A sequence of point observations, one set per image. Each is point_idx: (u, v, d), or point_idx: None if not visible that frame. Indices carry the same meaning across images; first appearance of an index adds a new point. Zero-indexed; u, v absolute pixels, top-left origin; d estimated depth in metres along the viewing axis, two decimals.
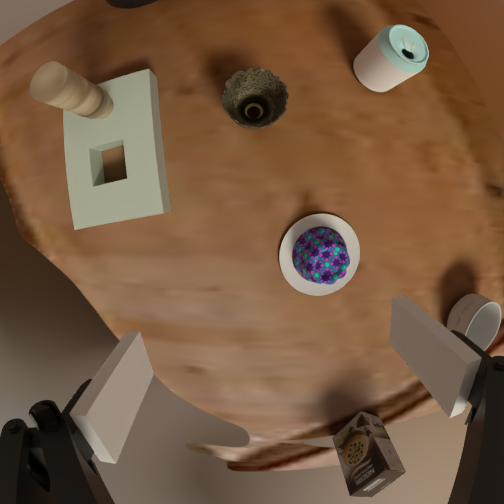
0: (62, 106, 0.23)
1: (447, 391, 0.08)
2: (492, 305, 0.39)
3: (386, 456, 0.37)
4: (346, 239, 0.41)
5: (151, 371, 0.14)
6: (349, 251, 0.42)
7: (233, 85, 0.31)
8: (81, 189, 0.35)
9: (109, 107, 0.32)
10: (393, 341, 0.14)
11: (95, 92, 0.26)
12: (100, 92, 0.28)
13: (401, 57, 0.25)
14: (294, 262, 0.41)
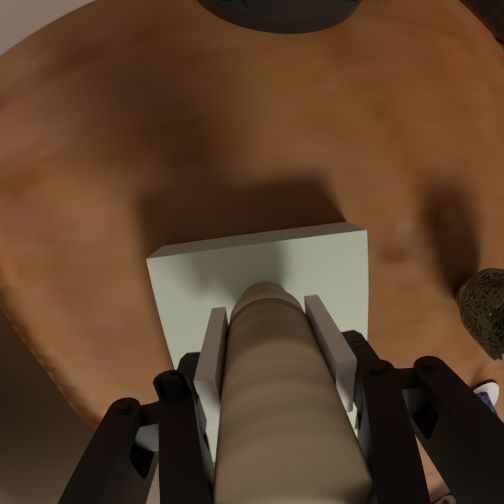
0: None
1: None
2: None
3: None
4: (490, 398, 0.28)
5: None
6: None
7: None
8: None
9: None
10: None
11: None
12: None
13: None
14: None
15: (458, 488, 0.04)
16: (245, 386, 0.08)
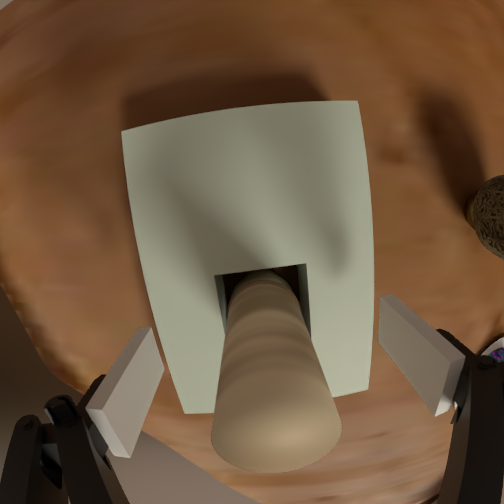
0: None
1: (432, 389, 0.09)
2: None
3: None
4: None
5: (162, 367, 0.15)
6: None
7: None
8: (198, 355, 0.18)
9: None
10: (381, 339, 0.14)
11: None
12: None
13: None
14: None
15: None
16: (240, 341, 0.11)
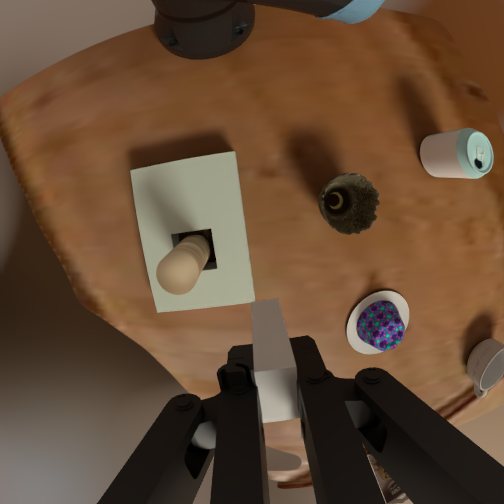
0: None
1: None
2: None
3: None
4: (400, 318, 0.46)
5: None
6: None
7: (327, 185, 0.35)
8: None
9: None
10: None
11: (206, 255, 0.36)
12: (207, 249, 0.37)
13: (473, 168, 0.29)
14: (359, 322, 0.45)
15: (421, 499, 0.05)
16: (172, 249, 0.32)
